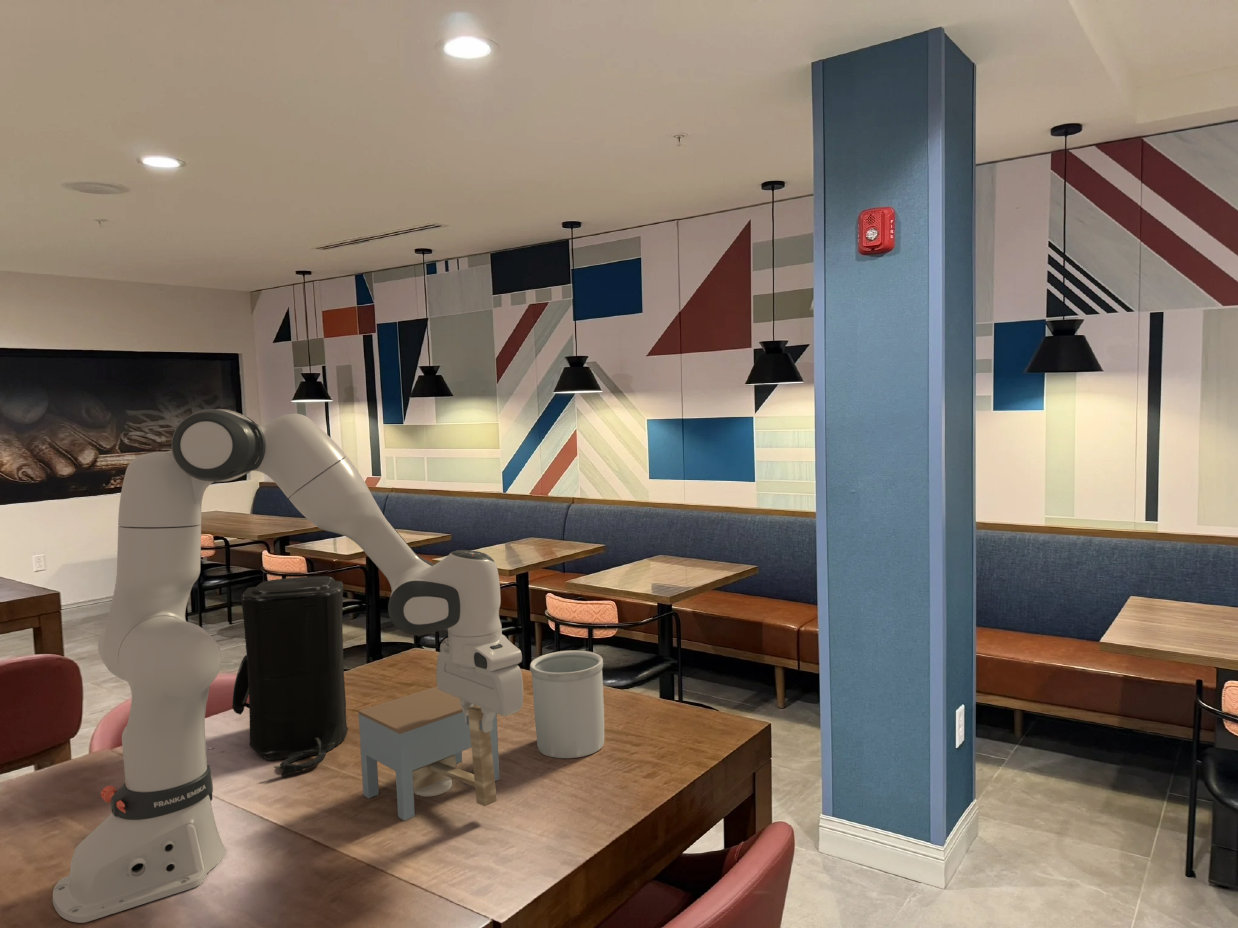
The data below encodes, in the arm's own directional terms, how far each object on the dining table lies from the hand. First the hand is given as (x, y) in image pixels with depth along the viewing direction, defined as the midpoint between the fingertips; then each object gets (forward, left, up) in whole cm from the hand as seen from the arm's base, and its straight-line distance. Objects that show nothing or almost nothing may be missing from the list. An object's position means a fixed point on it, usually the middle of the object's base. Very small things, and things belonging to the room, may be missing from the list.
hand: (478, 727), depth 137 cm
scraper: (0, +6, -13) cm, 15 cm away
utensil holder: (+29, +10, -16) cm, 35 cm away
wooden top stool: (0, +16, -15) cm, 22 cm away
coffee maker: (-9, +57, -16) cm, 60 cm away
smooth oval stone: (0, +16, -16) cm, 22 cm away
